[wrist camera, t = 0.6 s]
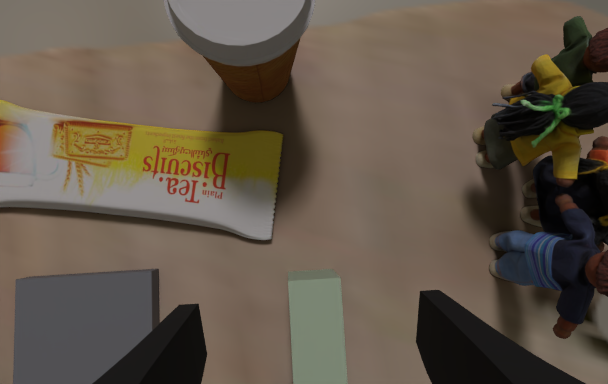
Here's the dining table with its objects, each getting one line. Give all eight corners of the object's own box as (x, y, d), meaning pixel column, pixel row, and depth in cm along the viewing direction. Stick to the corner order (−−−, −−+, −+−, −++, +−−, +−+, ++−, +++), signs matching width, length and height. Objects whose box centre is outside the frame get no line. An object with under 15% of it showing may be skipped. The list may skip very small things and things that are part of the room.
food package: (284, 129, 29) (270, 241, 28) (284, 135, 31) (272, 240, 30) (-31, 92, 28) (-56, 207, 27) (-7, 102, 31) (-30, 208, 30)
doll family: (576, 296, 31) (796, 352, 17) (484, 314, 30) (638, 385, 17) (521, 62, 33) (681, -48, 19) (434, 75, 32) (536, -30, 19)
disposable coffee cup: (221, 13, 32) (179, -114, 20) (316, 37, 32) (332, -74, 20) (195, 106, 31) (135, 31, 19) (294, 130, 31) (296, 71, 19)
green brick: (337, 359, 29) (347, 387, 24) (293, 363, 29) (293, 392, 24) (332, 268, 30) (340, 277, 25) (288, 271, 30) (288, 281, 25)
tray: (161, 487, 27) (154, 502, 26) (25, 499, 27) (9, 515, 25) (158, 268, 29) (151, 271, 28) (30, 276, 29) (15, 279, 27)
